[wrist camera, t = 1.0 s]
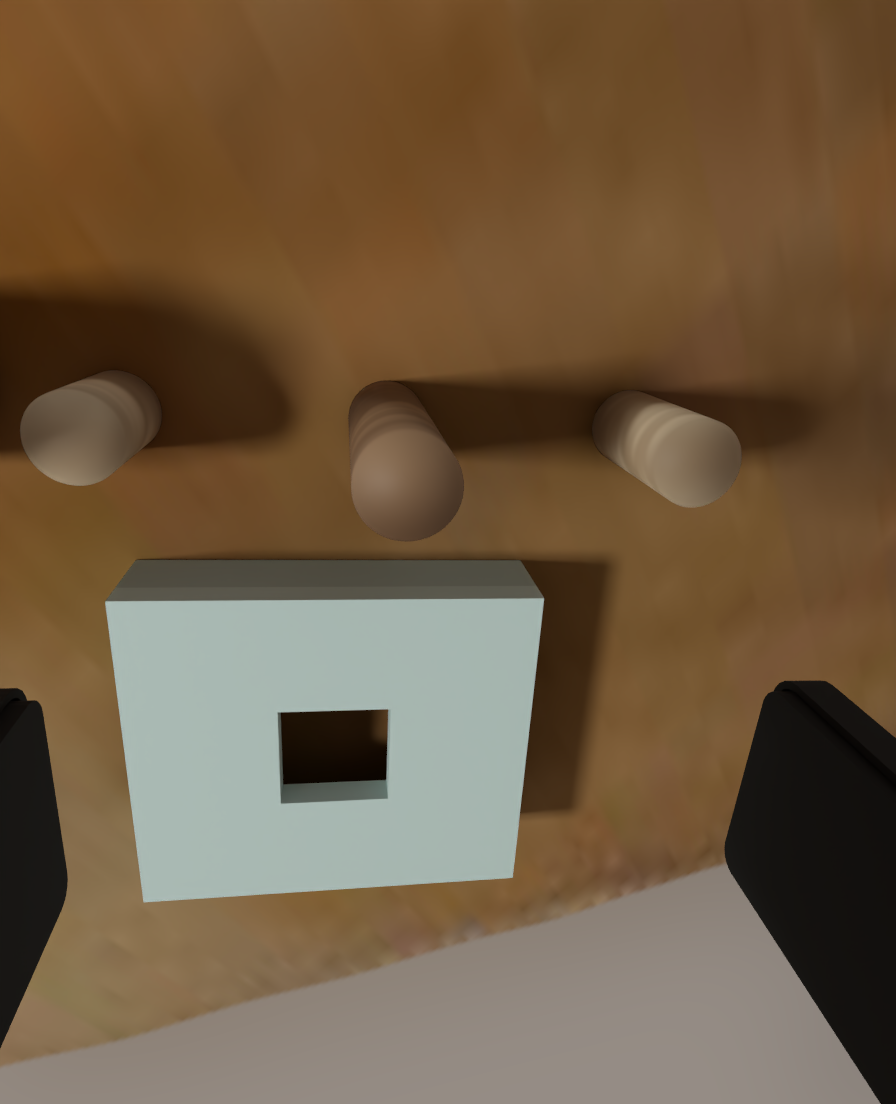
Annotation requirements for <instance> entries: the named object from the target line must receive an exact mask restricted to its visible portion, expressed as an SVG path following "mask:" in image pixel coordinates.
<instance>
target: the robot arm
mask: <svg viewBox="0 0 896 1104" xmlns="http://www.w3.org/2000/svg"><path fill="white" fill-rule="evenodd" d="M725 858H726V862H727V865H728V868H729V870H730V872H731V874H732V875H733V877H734V878H735V880H736V881H737V883H738V884H739V886H740V888H741V889H742V891H743V892H744V894H745V895H746V897H747V898H748V900H749V901H750V903H751V905H752V906H753V908H754V909H755V911H756V912H757V913H758V915H759V917H760V918H761V920H762V921H763V923H764V925H765V926H766V928H767V929H768V931H769V932H770V934H771V935H772V937H773V938H774V940H775V941H776V943H777V944H778V946H779V947H780V949H781V951H782V952H783V954H784V955H785V957H786V958H787V960H788V962H789V963H790V965H791V966H792V968H793V969H794V971H795V972H796V974H797V975H798V977H799V978H800V980H801V982H802V983H803V985H804V986H805V988H806V989H807V991H808V992H809V994H810V995H811V997H812V999H813V1000H814V1002H815V1003H816V1005H817V1006H818V1008H819V1009H820V1011H821V1012H822V1014H823V1015H824V1017H825V1019H826V1020H827V1022H828V1023H829V1025H830V1026H831V1028H832V1029H833V1031H834V1032H835V1034H836V1036H837V1037H838V1039H839V1040H840V1042H841V1043H842V1045H843V1046H844V1048H845V1049H846V1051H847V1052H848V1054H849V1056H850V1057H851V1059H852V1060H853V1062H854V1063H855V1064H856V1066H857V1068H858V1069H859V1071H860V1072H861V1074H862V1076H863V1077H864V1079H865V1080H866V1081H867V1083H868V1085H869V1086H870V1088H871V1089H872V1091H873V1093H874V1094H875V1096H876V1097H877V1098H878V1100H879V1102H880V1103H881V1104H896V738H895V737H894V736H892V735H891V734H890V733H889V732H888V731H886V730H885V729H884V728H883V727H882V726H881V725H879V724H878V723H877V722H876V721H875V720H873V719H872V718H871V717H870V716H869V715H867V714H866V713H865V712H864V711H863V710H861V709H860V708H859V707H858V706H857V705H855V704H854V703H853V702H852V701H851V700H850V699H848V698H847V697H846V696H845V695H844V694H842V693H841V692H840V691H839V690H838V689H836V688H835V687H834V686H833V685H831V684H830V683H828V682H826V681H784V682H781V683H779V684H778V685H777V687H776V688H775V690H774V692H770V693H768V694H767V696H766V697H765V699H764V701H763V704H762V708H761V712H760V716H759V719H758V723H757V727H756V730H755V734H754V738H753V741H752V745H751V749H750V752H749V756H748V760H747V764H746V767H745V771H744V775H743V778H742V782H741V786H740V789H739V793H738V797H737V801H736V804H735V808H734V812H733V815H732V819H731V823H730V826H729V830H728V834H727V838H726V841H725ZM67 881H68V878H67V868H66V862H65V855H64V849H63V842H62V835H61V829H60V822H59V816H58V809H57V803H56V796H55V789H54V783H53V776H52V770H51V763H50V757H49V750H48V743H47V737H46V730H45V724H44V717H43V711H42V707H41V705H40V704H39V702H37V701H27V699H26V696H25V694H24V693H23V691H22V690H20V689H18V688H9V689H0V1048H1V1045H2V1043H3V1041H4V1039H5V1036H6V1034H7V1032H8V1030H9V1027H10V1025H11V1023H12V1021H13V1018H14V1016H15V1014H16V1012H17V1009H18V1007H19V1005H20V1002H21V1000H22V998H23V996H24V993H25V991H26V989H27V987H28V984H29V982H30V980H31V978H32V975H33V973H34V971H35V969H36V966H37V964H38V962H39V960H40V957H41V955H42V953H43V951H44V948H45V946H46V944H47V942H48V939H49V937H50V935H51V932H52V930H53V928H54V926H55V923H56V921H57V919H58V917H59V914H60V912H61V910H62V907H63V904H64V901H65V897H66V891H67Z"/></svg>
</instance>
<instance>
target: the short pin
mask: <svg viewBox="0 0 896 1104" xmlns="http://www.w3.org/2000/svg"><path fill="white" fill-rule="evenodd" d="M161 422H162V409H161V405H160V402H159V399H158V397H157V395H156V394H155V392H154V391H153V389H152V388H151V387H150V386H149V385H148V384H147V383H146V382H145V381H144V380H142V379H141V378H139V377H137V376H135V375H133V374H131V373H128V372H124V371H118V370H109V371H104V372H101V373H98V374H95V375H92V376H90V377H87V378H85V379H82V380H79V381H77V382H74V383H71V384H69V385H66V386H64V387H61V388H58V389H56V390H53V391H50V392H48V393H45V394H43V395H41V396H39V397H38V398H36V399H35V400H34V401H33V402H32V403H31V404H30V405H29V406H28V407H27V409H26V410H25V412H24V414H23V417H22V420H21V425H20V436H21V441H22V445H23V448H24V450H25V452H26V454H27V456H28V457H29V459H30V460H31V462H32V463H33V464H34V465H35V466H36V467H37V468H38V469H39V470H40V471H41V472H42V473H44V474H45V475H47V476H48V477H50V478H52V479H54V480H56V481H58V482H61V483H64V484H69V485H77V486H82V485H90V484H94V483H98V482H100V481H102V480H104V479H105V478H107V477H108V476H110V475H111V474H112V473H113V472H114V471H116V470H117V469H118V468H119V467H120V466H122V465H123V464H124V463H125V462H126V461H128V460H129V459H130V458H131V457H132V456H134V455H135V454H136V453H137V452H138V451H140V450H141V449H142V448H143V447H145V446H146V445H147V444H148V443H149V442H150V441H152V440H153V439H154V437H155V436H156V435H157V433H158V431H159V429H160V426H161Z"/></svg>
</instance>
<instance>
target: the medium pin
mask: <svg viewBox="0 0 896 1104" xmlns="http://www.w3.org/2000/svg"><path fill="white" fill-rule="evenodd" d="M592 436H593V440H594V443H595V445H596V447H597V449H598V450H599V451H600V452H601V454H603V455H604V456H605V457H607V458H608V459H610V460H611V461H612V462H614V463H615V464H617V465H618V466H620V467H621V468H623V469H624V470H626V471H627V472H629V473H630V474H632V475H633V476H634V477H636V478H637V479H639V480H640V481H642V482H643V483H645V484H646V485H648V486H649V487H651V488H652V489H654V490H655V491H657V492H658V493H659V494H661V495H662V496H664V497H665V498H667V499H668V500H670V501H671V502H673V503H675V504H677V505H680V506H684V507H699V506H704V505H707V504H709V503H711V502H713V501H715V500H717V499H718V498H720V497H721V496H722V495H723V494H724V493H726V492H727V490H728V489H729V488H730V487H731V486H732V484H733V483H734V481H735V479H736V477H737V475H738V473H739V470H740V466H741V460H742V453H741V446H740V443H739V440H738V438H737V436H736V435H735V433H734V432H733V431H732V429H730V428H729V427H728V426H727V425H725V424H724V423H722V422H719V421H717V420H714V419H711V418H709V417H706V416H704V415H701V414H698V413H696V412H693V411H690V410H688V409H685V408H682V407H680V406H677V405H675V404H672V403H669V402H667V401H664V400H661V399H659V398H656V397H654V396H651V395H648V394H646V393H643V392H640V391H636V390H625V391H621V392H618V393H616V394H614V395H612V396H610V397H609V398H608V399H606V400H605V401H604V402H603V403H602V404H601V406H600V407H599V409H598V410H597V412H596V414H595V416H594V420H593V424H592Z"/></svg>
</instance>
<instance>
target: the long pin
mask: <svg viewBox="0 0 896 1104" xmlns="http://www.w3.org/2000/svg"><path fill="white" fill-rule="evenodd" d="M348 419H349V444H350V469H351V491H352V499H353V503H354V506H355V509H356V510H357V512H358V514H359V516H360V517H361V519H362V520H363V521H364V523H365V524H366V525H367V526H368V527H369V528H371V529H372V530H373V531H375V532H376V533H378V534H379V535H381V536H384V537H386V538H389V539H392V540H397V541H416V540H421V539H424V538H427V537H430V536H432V535H434V534H436V533H437V532H439V531H440V530H442V529H443V528H444V527H445V526H446V525H447V524H448V523H449V522H450V521H451V520H452V519H453V517H454V516H455V515H456V513H457V511H458V509H459V507H460V504H461V501H462V498H463V492H464V480H463V474H462V470H461V467H460V465H459V463H458V461H457V459H456V457H455V456H454V454H453V453H452V451H451V449H450V448H449V446H448V445H447V443H446V442H445V440H444V438H443V437H442V435H441V434H440V432H439V430H438V429H437V427H436V426H435V424H434V422H433V421H432V419H431V418H430V416H429V415H428V413H427V411H426V410H425V408H424V407H423V405H422V403H421V402H420V400H419V399H418V397H417V396H416V395H415V393H414V392H413V391H412V390H411V389H409V388H408V387H406V386H405V385H403V384H400V383H398V382H394V381H379V382H375V383H372V384H370V385H368V386H366V387H365V388H363V389H362V390H361V391H360V392H359V393H358V394H357V395H356V397H355V398H354V400H353V402H352V404H351V406H350V410H349V418H348Z"/></svg>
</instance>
